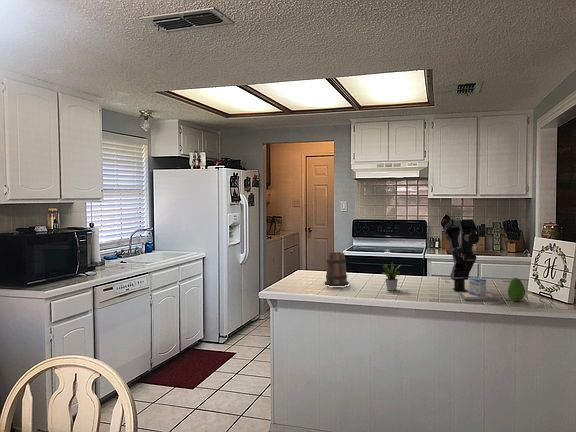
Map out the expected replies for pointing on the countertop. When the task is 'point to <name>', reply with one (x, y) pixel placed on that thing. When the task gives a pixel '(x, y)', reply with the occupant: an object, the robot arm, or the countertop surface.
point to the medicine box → (477, 286)
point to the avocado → (516, 290)
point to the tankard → (336, 270)
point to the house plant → (391, 277)
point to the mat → (477, 297)
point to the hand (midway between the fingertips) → (467, 270)
